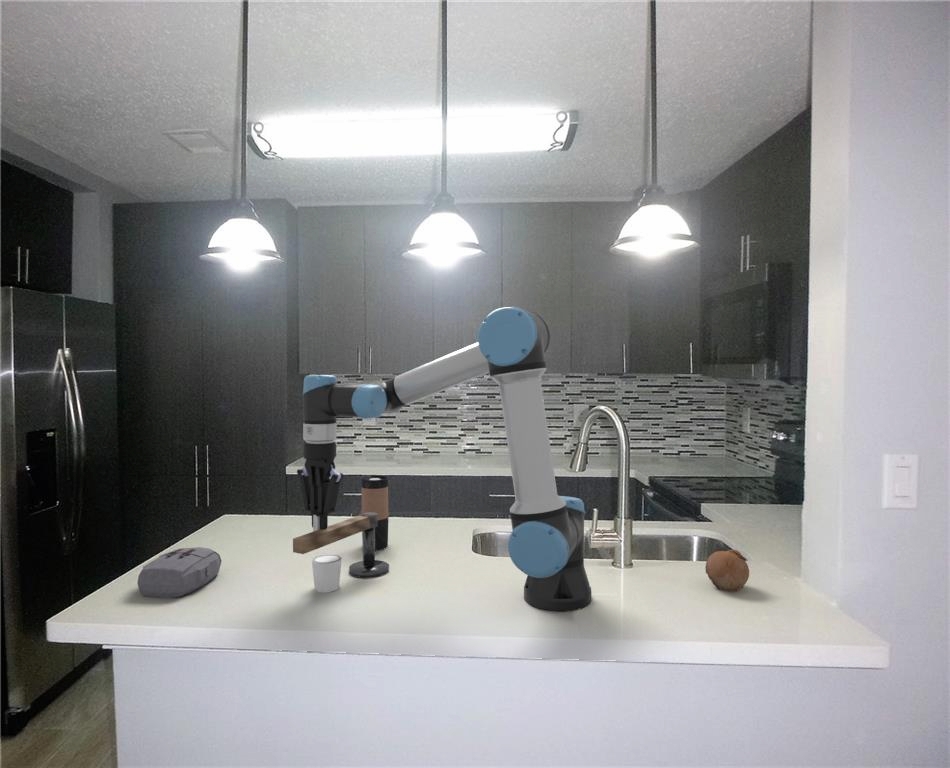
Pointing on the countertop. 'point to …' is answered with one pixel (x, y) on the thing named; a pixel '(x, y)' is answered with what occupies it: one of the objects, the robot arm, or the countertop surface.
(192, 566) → the soft grey pack
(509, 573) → the countertop surface
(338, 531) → the swing arm
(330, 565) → the white cup
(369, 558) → the swing post
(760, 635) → the countertop surface
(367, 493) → the travel mug
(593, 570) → the countertop surface
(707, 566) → the onion
